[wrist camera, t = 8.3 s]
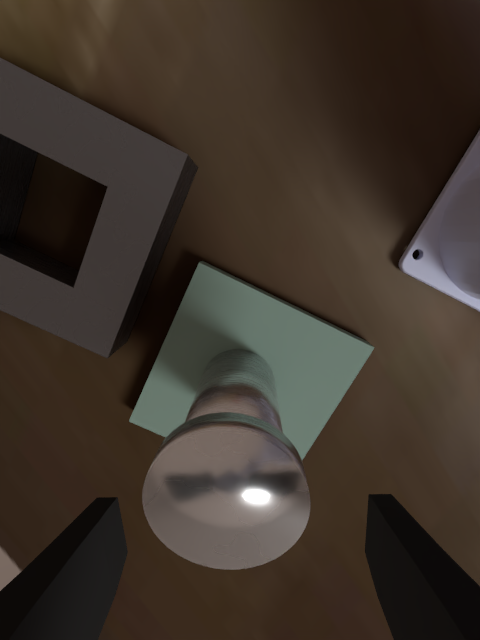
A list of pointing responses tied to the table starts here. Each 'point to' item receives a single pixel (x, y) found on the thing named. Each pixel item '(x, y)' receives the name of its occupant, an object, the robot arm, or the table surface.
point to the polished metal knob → (229, 472)
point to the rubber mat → (256, 336)
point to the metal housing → (112, 222)
